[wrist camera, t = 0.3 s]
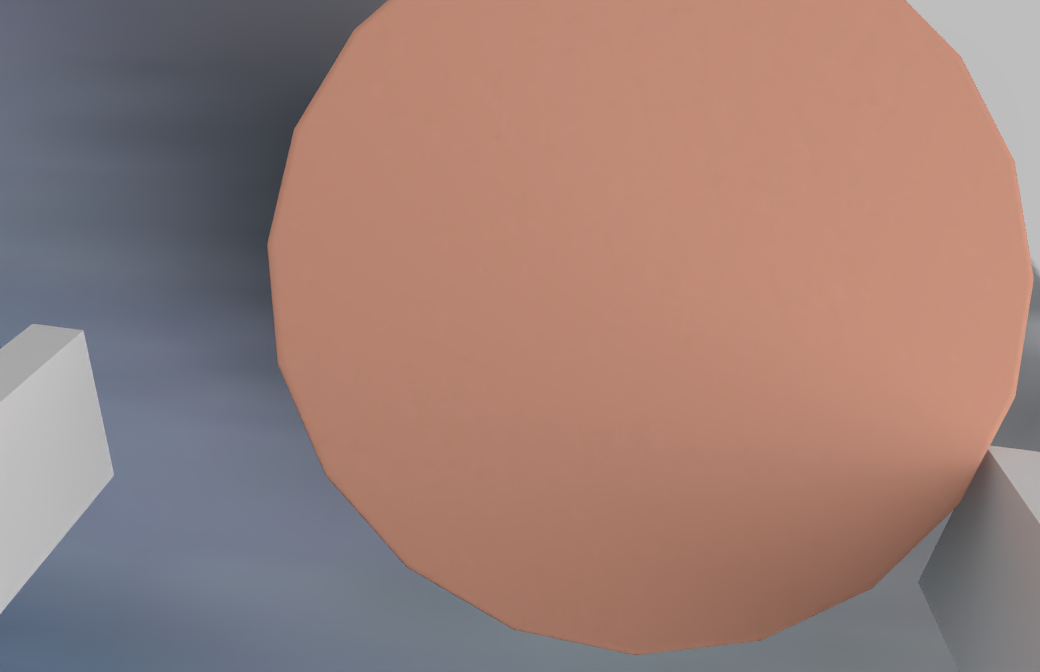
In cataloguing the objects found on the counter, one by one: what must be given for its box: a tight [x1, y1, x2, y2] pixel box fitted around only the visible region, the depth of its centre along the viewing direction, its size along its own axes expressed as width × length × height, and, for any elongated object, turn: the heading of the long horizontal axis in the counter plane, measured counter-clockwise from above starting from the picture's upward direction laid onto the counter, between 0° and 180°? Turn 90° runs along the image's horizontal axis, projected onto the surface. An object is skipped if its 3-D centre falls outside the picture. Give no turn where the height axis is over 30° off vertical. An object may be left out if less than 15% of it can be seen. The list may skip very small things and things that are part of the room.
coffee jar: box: [267, 0, 1034, 655], centre depth 20 cm, size 11×11×18 cm
